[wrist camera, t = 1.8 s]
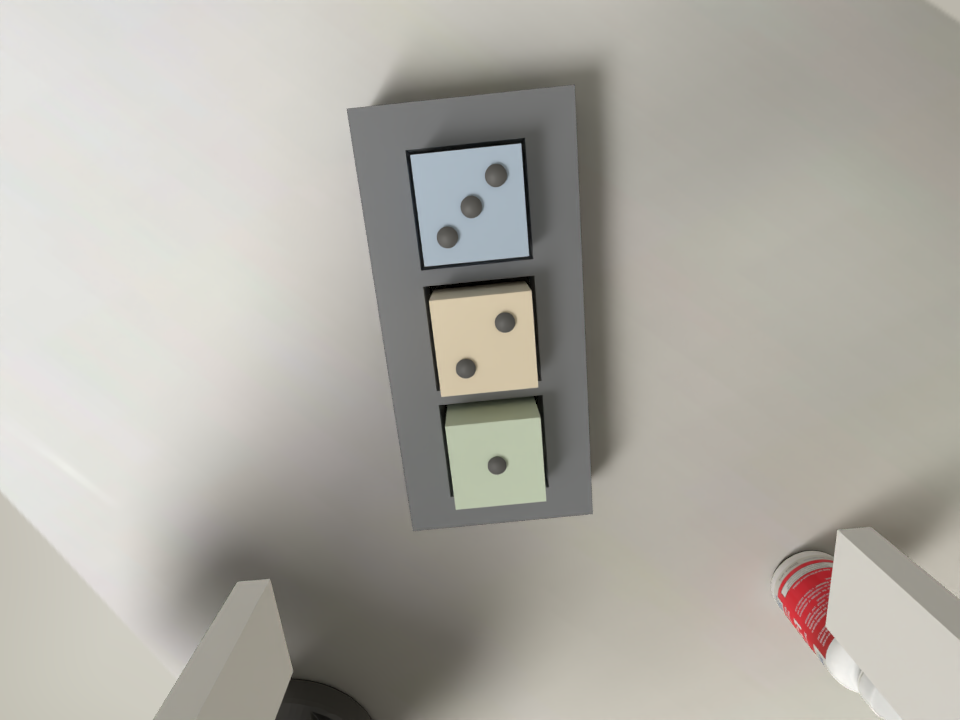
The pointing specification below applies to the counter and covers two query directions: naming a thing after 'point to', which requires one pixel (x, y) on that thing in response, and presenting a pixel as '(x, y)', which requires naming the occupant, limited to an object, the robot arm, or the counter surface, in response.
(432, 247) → the light blue block
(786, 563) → the pill bottle
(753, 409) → the counter surface
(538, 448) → the pale green counting block
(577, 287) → the grey counting block tray
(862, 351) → the counter surface
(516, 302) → the beige counting block
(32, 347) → the counter surface
